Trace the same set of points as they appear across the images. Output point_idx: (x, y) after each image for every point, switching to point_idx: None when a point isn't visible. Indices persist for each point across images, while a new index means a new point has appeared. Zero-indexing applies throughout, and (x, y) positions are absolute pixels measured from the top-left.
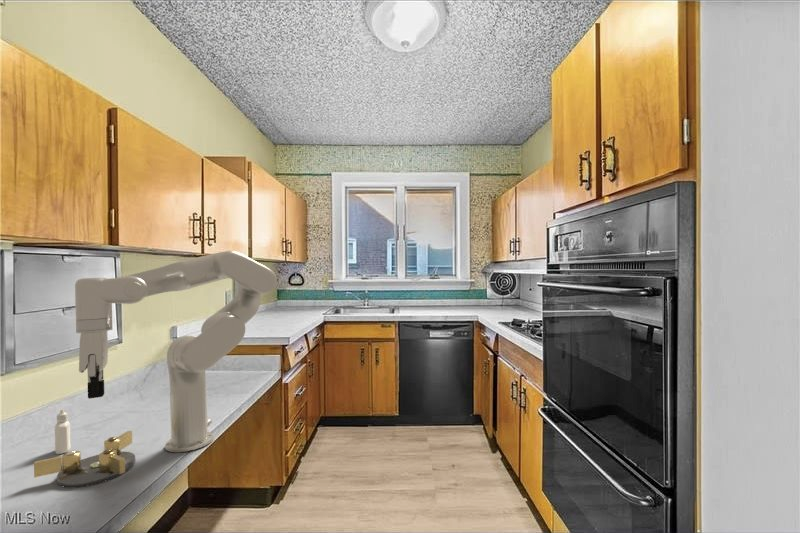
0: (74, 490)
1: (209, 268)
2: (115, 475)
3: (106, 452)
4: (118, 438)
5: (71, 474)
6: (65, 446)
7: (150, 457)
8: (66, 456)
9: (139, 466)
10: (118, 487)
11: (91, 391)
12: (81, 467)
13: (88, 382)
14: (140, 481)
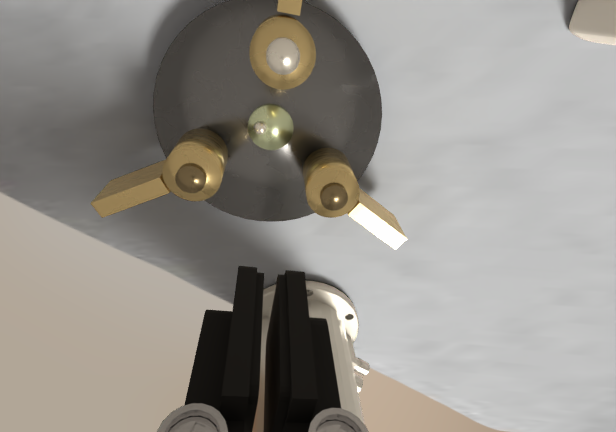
0: (147, 49)
1: None
2: None
3: (176, 175)
4: (336, 212)
5: (243, 44)
6: (586, 26)
7: (272, 245)
8: (265, 35)
9: (221, 218)
10: (92, 163)
11: (200, 333)
12: None
13: (165, 420)
14: None
